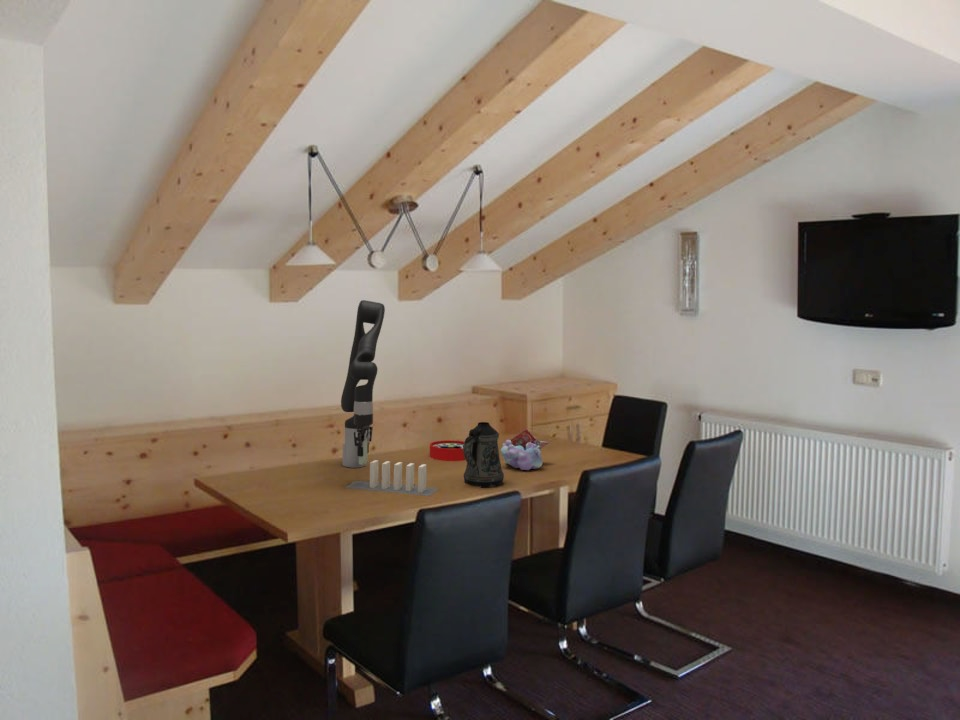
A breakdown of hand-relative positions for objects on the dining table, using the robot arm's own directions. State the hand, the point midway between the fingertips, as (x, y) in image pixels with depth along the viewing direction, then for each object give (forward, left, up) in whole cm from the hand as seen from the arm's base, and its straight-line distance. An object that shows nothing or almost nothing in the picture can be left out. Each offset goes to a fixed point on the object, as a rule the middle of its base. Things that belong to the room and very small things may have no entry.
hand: (363, 454), depth 322 cm
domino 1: (0, 0, -3) cm, 3 cm away
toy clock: (+17, +66, -13) cm, 69 cm away
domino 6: (+25, 0, -12) cm, 28 cm away
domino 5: (+20, 0, -12) cm, 23 cm away
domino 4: (+15, 0, -12) cm, 19 cm away
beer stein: (+44, +21, -13) cm, 50 cm away
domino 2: (+5, 0, -12) cm, 13 cm away
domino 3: (+10, 0, -12) cm, 16 cm away
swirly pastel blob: (+53, +57, -13) cm, 79 cm away
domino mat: (+12, 0, -13) cm, 18 cm away
